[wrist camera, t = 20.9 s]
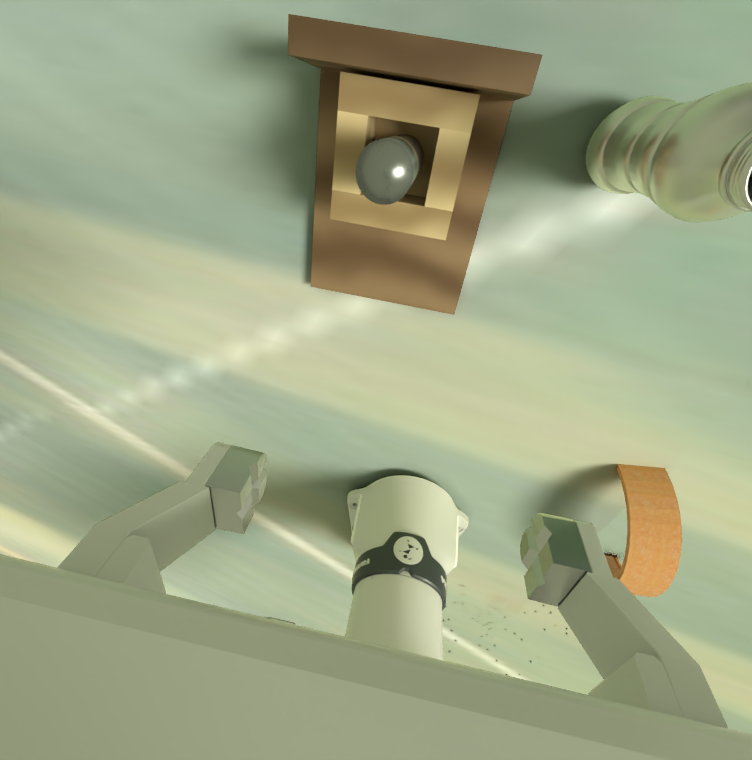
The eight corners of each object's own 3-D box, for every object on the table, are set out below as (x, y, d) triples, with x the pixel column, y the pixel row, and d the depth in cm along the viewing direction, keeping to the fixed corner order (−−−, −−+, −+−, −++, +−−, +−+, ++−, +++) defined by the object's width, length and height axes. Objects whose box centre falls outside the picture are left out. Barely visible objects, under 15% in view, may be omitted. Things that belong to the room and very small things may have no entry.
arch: (665, 467, 50) (707, 535, 42) (615, 558, 61) (641, 626, 53) (617, 462, 51) (649, 528, 43) (576, 553, 62) (595, 619, 54)
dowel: (419, 184, 35) (407, 209, 25) (379, 177, 35) (352, 199, 25) (427, 137, 33) (418, 144, 23) (385, 130, 33) (358, 134, 23)
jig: (454, 310, 43) (455, 350, 36) (313, 283, 44) (285, 316, 36) (520, 70, 31) (542, 54, 24) (325, 39, 32) (288, 14, 25)
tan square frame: (446, 226, 37) (445, 240, 33) (344, 207, 38) (330, 218, 33) (475, 98, 32) (480, 94, 27) (355, 78, 32) (340, 71, 28)
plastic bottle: (563, 147, 34) (673, 172, 17) (643, 75, 30) (875, 19, 14) (603, 205, 35) (738, 278, 19) (683, 143, 32) (930, 165, 16)
